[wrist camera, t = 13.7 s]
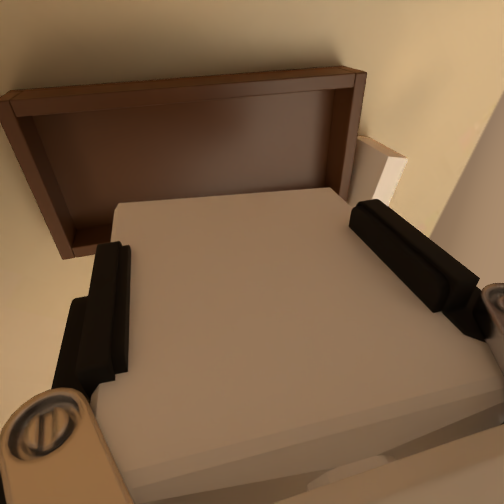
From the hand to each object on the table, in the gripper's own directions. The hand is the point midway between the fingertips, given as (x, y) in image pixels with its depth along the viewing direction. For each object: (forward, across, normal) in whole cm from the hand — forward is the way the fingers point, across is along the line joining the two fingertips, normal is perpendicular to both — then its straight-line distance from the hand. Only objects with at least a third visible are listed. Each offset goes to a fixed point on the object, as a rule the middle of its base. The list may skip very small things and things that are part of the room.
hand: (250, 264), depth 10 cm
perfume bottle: (+3, 0, 0) cm, 3 cm away
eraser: (+10, -9, +2) cm, 13 cm away
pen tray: (+10, 0, 0) cm, 10 cm away
